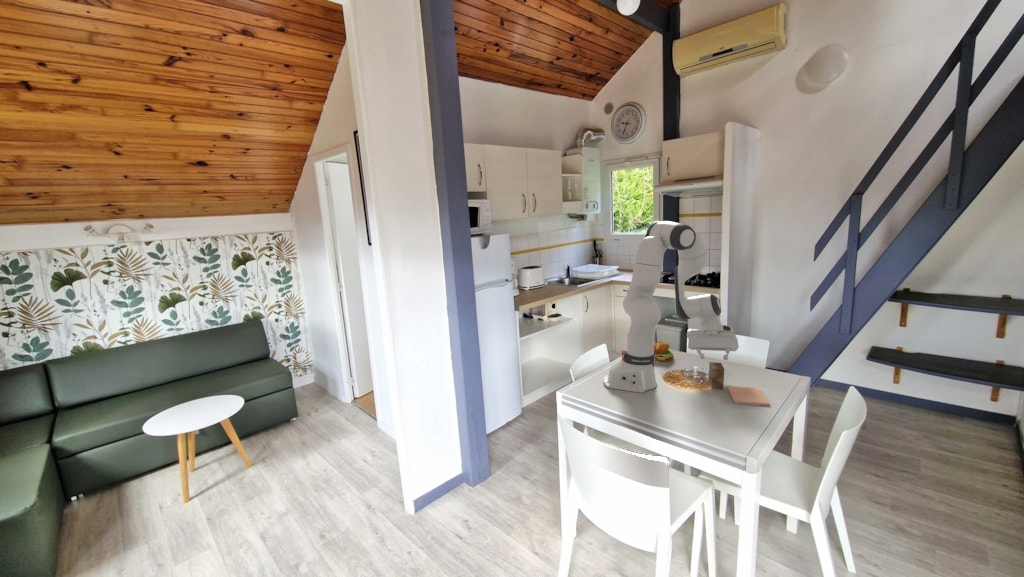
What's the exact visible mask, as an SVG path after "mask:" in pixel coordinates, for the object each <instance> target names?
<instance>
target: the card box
mask: <svg viewBox="0 0 1024 577" xmlns="http://www.w3.org/2000/svg"><path fill="white" fill-rule="evenodd" d="M708 368H709V369H708V382H709V381H710V384H711V386H710V389H711V388H712V390H724V383H725V367H724V365H723V364H722V362H716V361H715V362H714V361H711V362H709V367H708ZM710 384H709V385H710Z"/></svg>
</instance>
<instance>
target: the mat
mask: <svg viewBox="0 0 1024 577" xmlns="http://www.w3.org/2000/svg"><path fill="white" fill-rule="evenodd" d="M726 389H727V391H728V393H729V395H730V396H731V399H732V400H733V402H734V404H737V405H749V406H751V405H752V406H765V407H770V406H771V403H770V402H769V400H768V399H767V397H766V395H765V394H764V393H763V391H762V390H761V388H760V387H751V386H750V387H749V386H737V385H735V386H734V385H727V386H726Z"/></svg>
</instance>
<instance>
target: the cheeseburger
mask: <svg viewBox="0 0 1024 577" xmlns="http://www.w3.org/2000/svg"><path fill="white" fill-rule="evenodd" d="M654 353H655V361H659V362H664V363H666V362H670V361H672V360H673V359H674V357H675V355H674V352H673V351H672V349H671V348H670V344H669V343H668V342H666V341H658V342H654Z"/></svg>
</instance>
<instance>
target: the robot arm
mask: <svg viewBox="0 0 1024 577" xmlns="http://www.w3.org/2000/svg"><path fill="white" fill-rule="evenodd" d="M667 250H675V251H677V255H678V259H679V263H678V265H677V266H675V269H674V272H673V273H674V276H673V277H674V294H675V304H674V305H675V306H674V309H675V310H674V311H675V315H676V317H678V318H680V319H681V320H683V321H686V320H691V319H695V318H697V319H698V318H699V320H700V323H699V329H689V330H687V332H686V337H687V339H688V340H687V348H688V349H689V350H691V351H693V350H695V351H696V353H697V354H698V355H699V359H700V360H704V359H705V353H703V352H702V351H715V352H716V351H718V352H725V354H724V355H723V356H722V357H723V360H724V361H729V354H730V352H737V351H738V350H739V347H740V346H739V341H738V338H737V335H736V333H734V328H733V326H729V325H725V324H722V322H721V320H720V318H721V314H722V306H721V301H720V299H719V297H717V296H716V295H715V294H713V293H711V294H710V293H707V294H700V295H696V296H686V292H685V283H686V281H688V280H689V279H691V278H692V277H694V276H696V275H698V274H700V273H701V272H702V271H703V270H705V268H706V267H707V265H708V262H709V259H708V251H707V249H706V244H705V242H704V239H703V237H702V235H701V232H700V231H699V230H698V229H696V228H693V227H691V226H690V225H688V224H686V223H679V222H675V221H673V220H672V221H671V220H655V221H653V222H651V224H649V225H648V228H647V230H646V233H645V237H643V238H642V239H641V240H640V242H639V244H638V247H637V250H636V254H635V259H634V265H633V269H632V270H633V271H632V276H631V280H630V283H629V284H630V285H629V288H628V290H627V293H626V294H625V296H624V297H623V298H624V299H623V301H622V306H623V309H624V312H625V314H626V315H627V316H628V317H630V318H629V319H630V326H629V330H628V332H627V335H626V338H627V339H626V350H625V349H624V348H623V349H621V351H620V353H621V359H620V360H618V361H617V362H615V363H613V364H612V365H611V367H610V368H609V371H608V373H607V374H606V375H604V377H603V385H604V386H605V387H606V388H609V389H615V390H622V391H628V392H635V393H644V392H646V391H651V390H653V389H654V388H656V387H657V386H658V383H657V379H656V374H655V365H656V359H655V353H654V343H655V334H656V329H657V327H658V324H659V322H660V321H661V318H662V312H661V309H660V307H659V305H658V304H657V303H656V302H655V301H654V300H653V297H654V296H653V295H654V293H655V291H656V289H657V288H658V286H659V285H660V282H661V276H662V269H663V265H664V264H663V263H664V255H665V253H666V251H667Z"/></svg>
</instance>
